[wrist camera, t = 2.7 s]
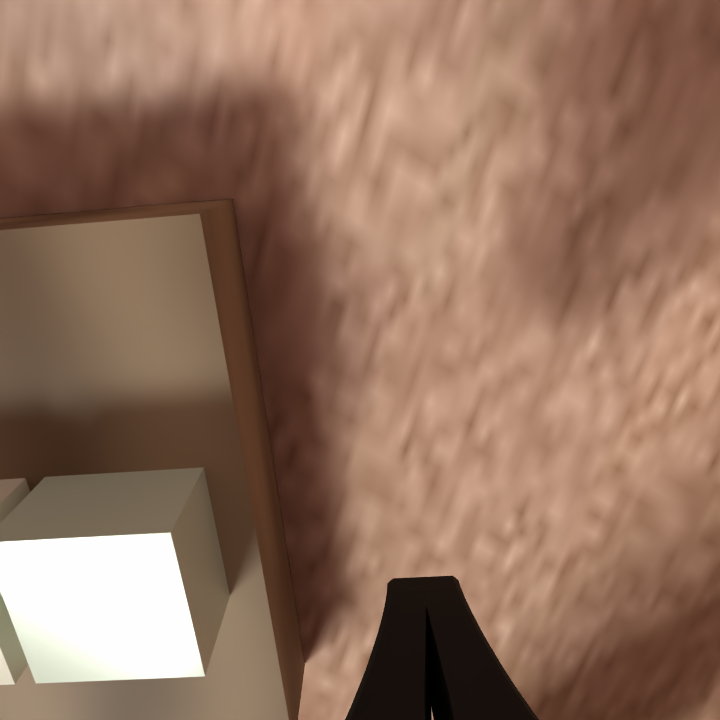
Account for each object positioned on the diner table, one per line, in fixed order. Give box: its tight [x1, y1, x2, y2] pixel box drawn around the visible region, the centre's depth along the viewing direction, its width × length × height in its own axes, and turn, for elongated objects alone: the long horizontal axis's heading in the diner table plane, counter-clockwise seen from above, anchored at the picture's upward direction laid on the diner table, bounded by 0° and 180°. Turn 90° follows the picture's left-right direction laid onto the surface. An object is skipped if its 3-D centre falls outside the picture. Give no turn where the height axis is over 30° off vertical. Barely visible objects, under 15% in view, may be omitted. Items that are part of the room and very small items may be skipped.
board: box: [0, 199, 305, 720], centre depth 17 cm, size 10×16×3 cm, turn 5°
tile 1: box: [0, 467, 230, 683], centre depth 14 cm, size 4×4×2 cm
